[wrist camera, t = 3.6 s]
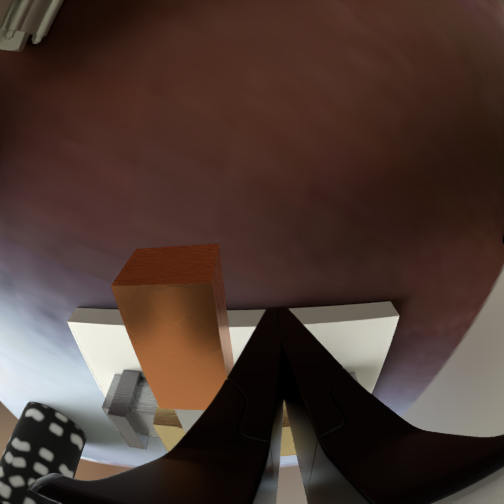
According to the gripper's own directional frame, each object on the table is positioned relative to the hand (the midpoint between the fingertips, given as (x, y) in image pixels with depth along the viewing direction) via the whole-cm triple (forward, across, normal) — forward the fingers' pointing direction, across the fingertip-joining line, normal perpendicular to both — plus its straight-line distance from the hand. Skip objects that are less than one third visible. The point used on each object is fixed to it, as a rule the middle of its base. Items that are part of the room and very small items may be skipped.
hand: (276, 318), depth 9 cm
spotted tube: (+6, +26, +21) cm, 34 cm away
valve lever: (0, +3, +4) cm, 5 cm away
